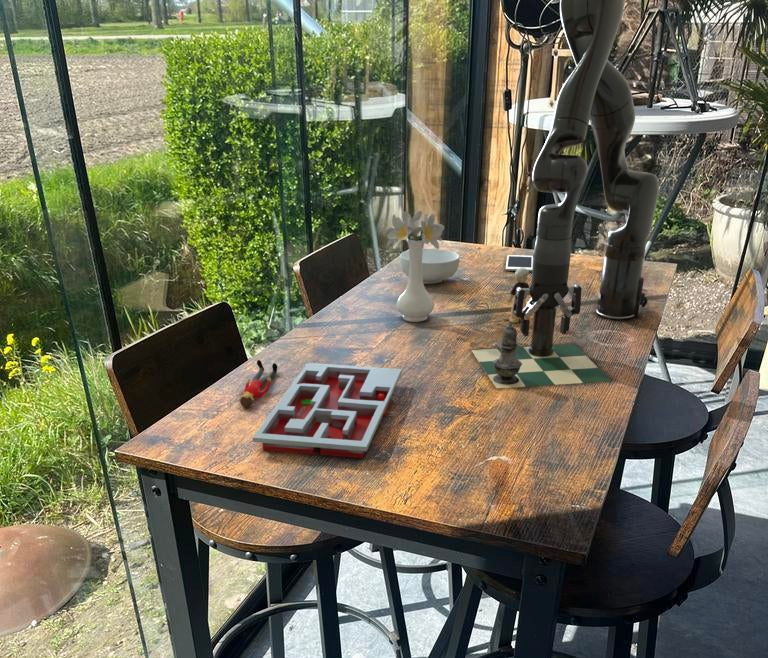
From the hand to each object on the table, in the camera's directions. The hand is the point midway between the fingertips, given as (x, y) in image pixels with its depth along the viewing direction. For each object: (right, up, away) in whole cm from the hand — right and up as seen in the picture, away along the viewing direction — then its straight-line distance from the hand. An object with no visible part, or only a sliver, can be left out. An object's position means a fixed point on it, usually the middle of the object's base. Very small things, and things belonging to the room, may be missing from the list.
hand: (544, 334), depth 174 cm
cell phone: (+6, +36, +66) cm, 75 cm away
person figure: (-60, -15, -15) cm, 64 cm away
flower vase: (-28, +9, +24) cm, 38 cm away
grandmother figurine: (-2, +8, +22) cm, 23 cm away
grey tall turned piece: (-10, -12, -11) cm, 19 cm away
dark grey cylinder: (0, -4, +2) cm, 4 cm away
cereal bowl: (-22, +27, +52) cm, 63 cm away
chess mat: (-2, -8, -4) cm, 9 cm away
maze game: (-44, -21, -25) cm, 55 cm away
